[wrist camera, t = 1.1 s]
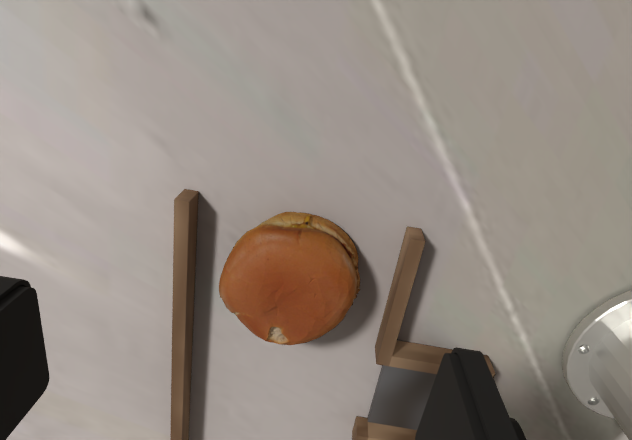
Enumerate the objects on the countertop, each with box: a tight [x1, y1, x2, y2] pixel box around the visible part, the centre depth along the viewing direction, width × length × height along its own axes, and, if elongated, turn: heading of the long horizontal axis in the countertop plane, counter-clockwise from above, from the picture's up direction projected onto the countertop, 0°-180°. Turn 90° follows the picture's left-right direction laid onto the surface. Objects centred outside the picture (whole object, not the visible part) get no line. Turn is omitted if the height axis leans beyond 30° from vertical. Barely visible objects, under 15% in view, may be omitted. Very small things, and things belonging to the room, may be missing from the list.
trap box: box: [171, 189, 495, 440], centre depth 38 cm, size 25×40×2 cm, turn 171°
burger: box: [219, 212, 360, 345], centre depth 31 cm, size 10×9×5 cm
